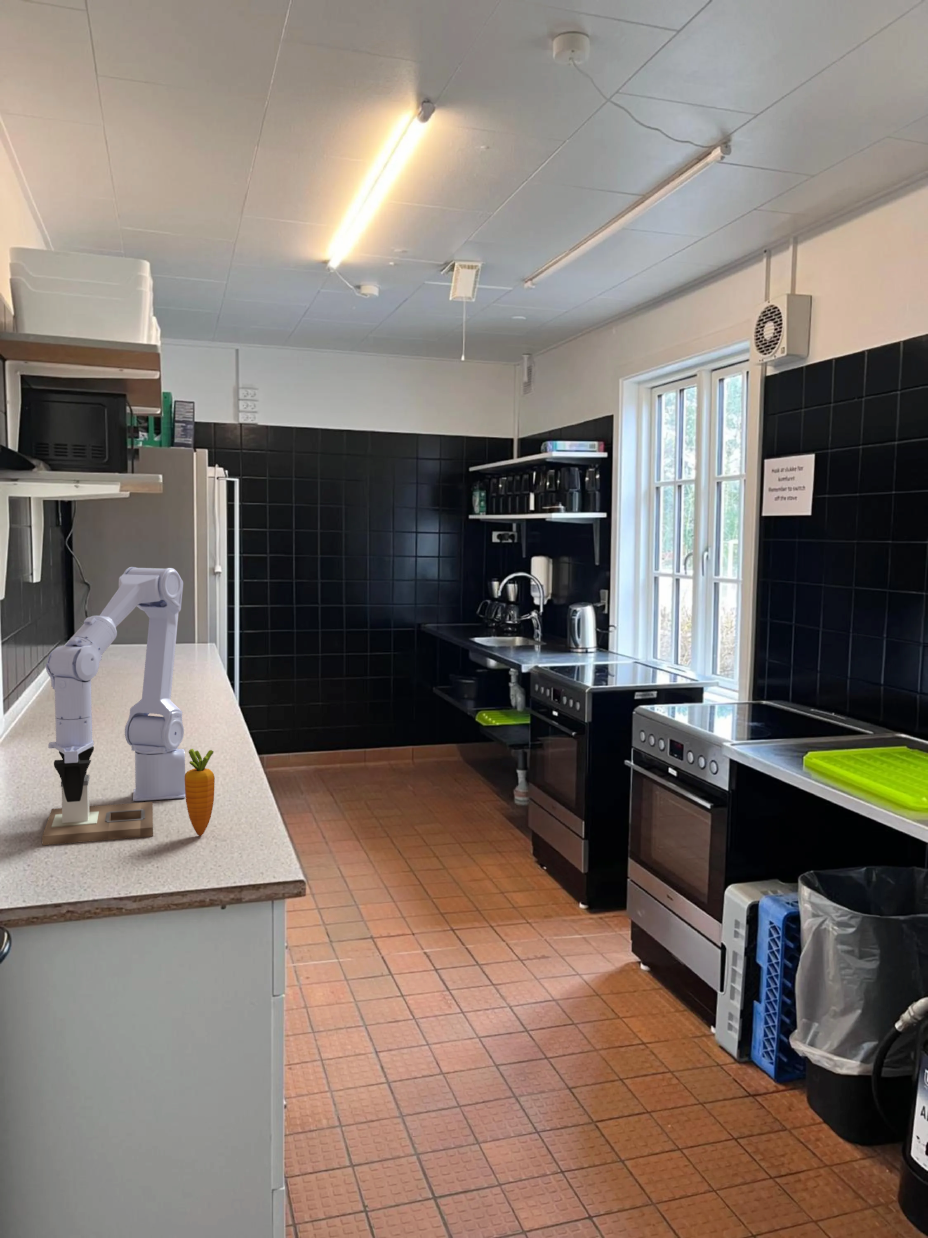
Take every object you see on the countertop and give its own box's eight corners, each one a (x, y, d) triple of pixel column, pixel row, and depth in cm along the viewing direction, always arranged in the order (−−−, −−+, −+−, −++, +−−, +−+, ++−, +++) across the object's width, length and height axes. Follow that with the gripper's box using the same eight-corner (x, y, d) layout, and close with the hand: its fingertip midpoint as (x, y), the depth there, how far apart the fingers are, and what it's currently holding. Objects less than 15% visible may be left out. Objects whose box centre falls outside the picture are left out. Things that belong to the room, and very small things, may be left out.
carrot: (218, 831, 160) (217, 745, 159) (211, 840, 155) (210, 751, 154) (189, 831, 160) (188, 744, 159) (181, 840, 155) (180, 751, 154)
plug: (90, 814, 163) (89, 774, 163) (88, 821, 159) (87, 780, 159) (64, 816, 162) (63, 776, 161) (61, 823, 158) (60, 782, 157)
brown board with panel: (152, 809, 172) (152, 800, 172) (153, 836, 157) (152, 826, 157) (52, 817, 167) (51, 807, 167) (42, 845, 152) (42, 835, 151)
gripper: (52, 710, 165) (54, 786, 166) (43, 726, 151) (45, 808, 152) (95, 708, 167) (96, 783, 168) (90, 723, 153) (92, 805, 154)
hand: (75, 795), depth 160 cm, fingers open, 7 cm apart
